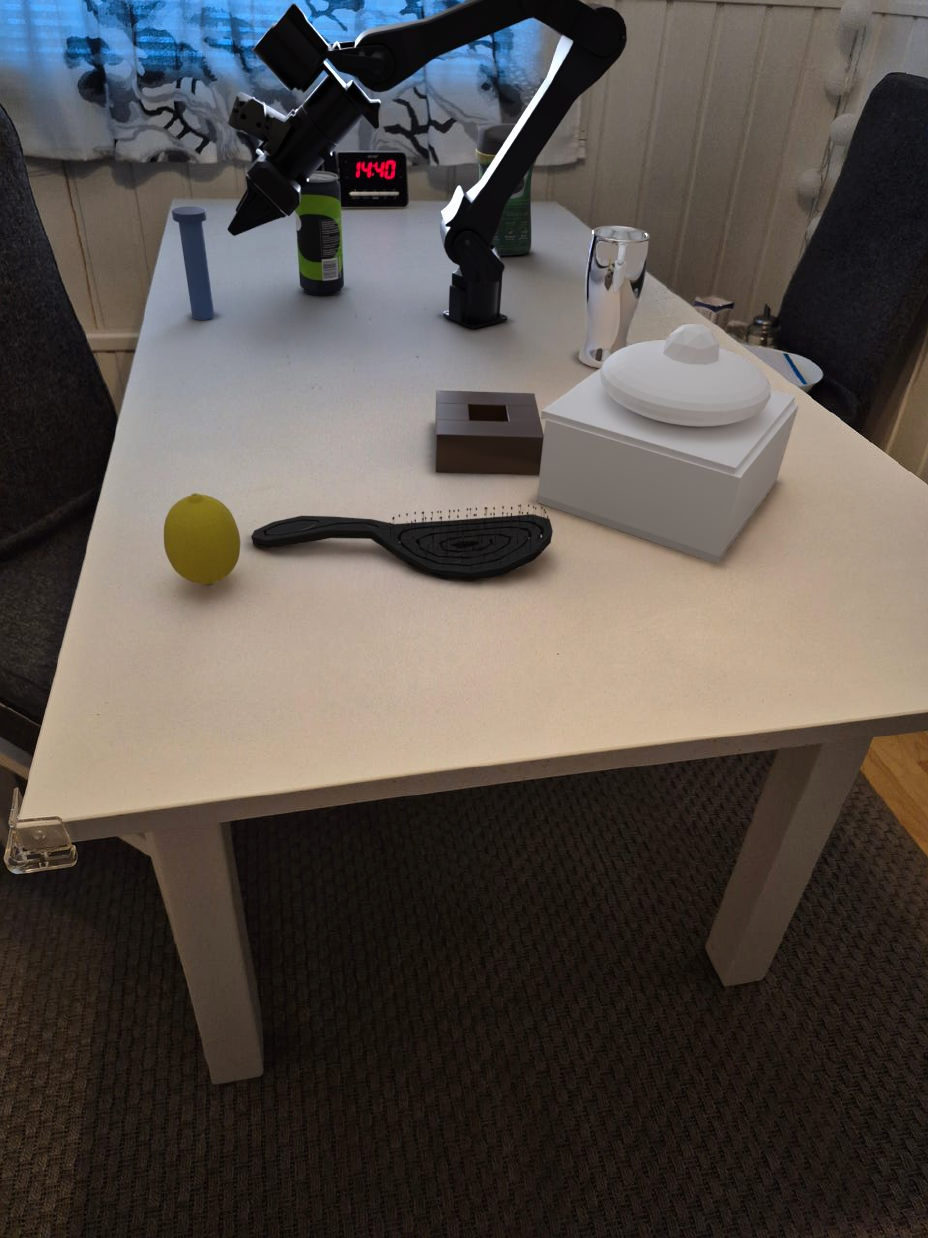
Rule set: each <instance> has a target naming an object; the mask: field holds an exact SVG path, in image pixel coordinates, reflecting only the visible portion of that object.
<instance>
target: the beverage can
mask: <svg viewBox="0 0 928 1238" xmlns="http://www.w3.org/2000/svg"><path fill="white" fill-rule="evenodd" d="M338 179H339V176H338V174H337V173H334V172H331V171H325V170H316V171H315V172H314V173H313V174H312V175H311V176H310V177H309V181H308V183H307V184H306V185H305V186H304V187H303V188H302V187H301V186H300V188H301V201H300V205H299V206H298V207H297V208H296V209H295V211H294V217H295V232H296V233H295V234H296V247H297V260H298V274H299V275H298V277H299V286H300V287H301V288H302V289H303V291H304V292H305V293H306V294H308V295H312V296H316V297H317V296H318V297H327V296H333V295H337V294H339V293H340V292H341V290H342V289H343V288H344V286H345V276H344V275H345V274H344V271H345V270H344V249H343V248H344V247H343V223H342V220H343V219H342V199H341V195H342V194H341V184H340V182H339V181H338Z"/></svg>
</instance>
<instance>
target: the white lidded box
mask: <svg viewBox="0 0 928 1238" xmlns="http://www.w3.org/2000/svg"><path fill="white" fill-rule="evenodd" d="M771 386H772V385H771V383H770V381H769V379H768V378H767V376H766V374H765V373H764V372H763V370H762V369H761V368H759V367H758V366H757V365H756V364H754V363H753V362H752V361H750V360H749V359H747V358H745V357H744V356H742V355H740V354H738V353H736V352H734V351H731V350H728V349H725V348H722V347H721V343H720V341H719V340H718V338H717V336H716V335H715V334H714V332H713V330H711V328H708V327H707V326H705V325H703V324H702V323H683V324H681V325H680V326H679V327H678V328H676V329H675V330H673V331H672V332H671V333H669V334H668V336H667V339H659V340H658V339H656V340H647V341H641V342H636V343H634V344H630V345H627V347H624V348H622V349H620V350H618V351H616V352H614V353H613V354H612V355H610V356H609V357H608V358H607V359H606V360H605V361H604V363H603V365H602V367H601V368H598V369H597V370H596V371H594V372H592V374H590V375H589V376H587V377H586V378H584V380H582V381H581V382H579V383H578V384H576V385H575V386H574V387H572V388H571V389H570V390H568V391H567V392H565V393H564V394H563V395H561V396H560V397H558V398H557V399H555V400H554V401H552V402H551V403H550V404H549V405H547V406H546V407H544V408H543V409H542V410H541V414H540V420H545V422H544V428H543V429H544V430H543V434H544V439H543V448H542V457H541V466H540V475H539V476H538V478H539V479H538V485H537V493H536V494H537V495H536V503H539V504H541V505H544V506H546V507H550V508H553V509H556V510H559V511H561V512H564V513H567V514H571V515H574V516H577V517H579V518H582V519H586V520H588V521H591V522H594V523H597V524H600V525H603V526H606V527H609V528H611V529H613V530H618V531H619V532H623V533H626V534H628V535H632V536H635V537H637V538H640V539H643V540H646V541H649V542H652V543H655V544H658V545H661V546H664V547H667V548H670V549H672V550H676V551H678V552H681V553H683V554H687V555H689V556H693V557H696V558H699V559H702V560H705V561H708V562H710V563H713V564H718V563H719V562H720V560H721V559H722V558H723V556H724V555H725V553H726V552H727V551H728V550H729V548H730V547H731V545H733V543H734V541H735V540H736V539H737V537H738V536H739V534H740V533H741V532H742V531H743V530H744V527H745V526H746V525H747V523H748V522H749V521H750V519H751V518H752V516H753V515H754V514H755V512H756V511H757V510H758V509H759V507H760V505H761V504H762V503H763V502H764V500H765V498H766V497H767V496H768V495H769V493H770V491H771V490H772V489H773V487H774V486H775V485H776V483H777V480H778V477H779V473H780V470H781V467H782V463H783V460H784V456H785V453H786V450H787V446H788V444H789V441H790V440H789V439H790V436H791V433H792V430H793V426H794V423H795V419H796V416H797V413H798V410H799V406H800V404H798V403H794V402H795V399H796V395H793V394H790V393H786V392H781V391H778V390H774V389H772V388H771Z"/></svg>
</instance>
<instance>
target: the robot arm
mask: <svg viewBox="0 0 928 1238" xmlns="http://www.w3.org/2000/svg"><path fill="white" fill-rule="evenodd" d="M529 19H530V20H531V19H533V20H535V21H537V22H539V23H540V24H541V25H543V26H545V27H546V28H548V29H550V30H551V31H553V32H555V33H556V34H558V35H559V36H561V37H560V39H559V42H558V44H557V46H556V49H555V52H554V55H553V58H552V62H551V64H550V68H549V69H548V72H547V75H546V77H545V78H544V81H543V82H542V84H541V85H540V87H539V88H538V90H537V91H536V93H535V94H534V96H533V98H532V99H531V100H530V102H529V104H528V105H527V107H526V108H525V110H524V112H523V113H522V115H521V116H520V118H519V119H518V121H517V123H515V124H516V126H515V127H514V129H513V130H512V132H511V133H510V135H509V137H508V138H507V140H506V141H505V143H504V144H503V146H502V147H501V149H500V151H499V152H498V154H497V155H496V157H495V158H494V160H493V162H492V163H491V165H490V166H489V168H488V169H487V171H486V172H485V174H484V176H483V177H482V179H481V180H480V181H479V180H478V182H477V183H475V185H474V186H472V187H471V188H470V189H469V190H468V191H466V190H465V189H464V188H463V187H462V186H461V185H458V186H457V187H456V189H455V191H454V193H453V196H452V198H451V200H450V202H449V203H448V205H447V206H446V207H445V208H443V209H442V210H441V211H440V214H441V217H442V219H441V222H440V225H439V234H440V235H439V236H440V239H441V243H442V246H443V249H444V252H445V254H446V256H447V258H448V259H449V260H450V261H451V262H452V263H453V264H454V265H457V266H458V268H456V270H455V271H452V272H451V284H450V285H449V291H448V293H449V294H448V310H444V311H443V313H442V316H443V317H444V318H447V319H449V320H451V321H453V322H456V323H457V324H460V325H462V326H464V327H466V328H469V329H471V330H472V329H473V330H475V329H480V328H483V327H487V326H491V325H496V324H500V323H503V322H507V321H508V319H509V318H508V316H507V315H505V314H503V313H501V304H502V303H501V302H502V292H503V291H502V290H503V275H504V271H505V269H506V266H505V263H504V262H503V260H502V257H501V255H499V253H498V251H497V249H496V247H495V246H494V245H493V243H492V241H493V239H494V237H495V235H496V233H497V230H498V227H499V224H500V221H501V218H502V215H503V212H504V209H505V206H506V204H507V202H508V201H509V199H510V198H511V196H512V195H513V193H514V192H515V190H516V189H517V187H518V186H519V184H520V183H521V181H522V180H523V178H524V177H525V175H526V174H527V172H528V171H529V169H530V168H531V166H532V165H533V163H534V162H535V160H536V159H538V158H539V156H540V154H541V153H542V151H543V150H544V149H545V146H546V145H547V143H548V142H549V141H550V139H551V138H552V136H553V135H554V133H555V132H556V130H557V129H558V127H559V126H560V124H561V122H562V121H563V119H564V118H565V117H566V115H567V113H568V112H569V111H570V109H571V108H572V106H573V104H574V103H575V102H576V100H577V99H578V98H579V97H580V96H582V94H584V93H585V92H586V91H587V90H588V89H590V88H591V87H592V86H593V85H595V84H596V83H597V82H599V80H600V79H601V78H602V77H604V75H605V74H606V72H608V71H609V69H610V68H611V67H612V66H613V65H615V63H616V62H617V61H618V59H619V58H621V56H622V54H623V53H624V50H625V48H626V46H627V42H628V37H627V36H628V35H627V31H628V30H627V25H626V22H625V19H624V17H623V16H622V15H621V13H620V12H619V11H618V10H616V9H614V8H613V7H611V6H607V5H603V4H600V3H594V2H590V3H584V2H583V1H581V0H466V1H463V2H460V3H459V4H455V5H454V6H451V7H449V8H447V9H444V10H442V11H439V12H436V13H435V14H432V15H430V16H427V17H425V18H421V19H416V20H409V21H401V22H396V23H391V24H390V23H389V24H385V25H380V26H375V27H371V28H367V29H365V30H364V31H363V32H361V33H360V34H359V35H358V36H357V38H356V40H349V41H341V42H339V41H338V40H336V41H335V42H333V43H328V42H327V41H326V40H325V39H324V37H323V36H322V35H321V34H320V33H319V32H318V31H317V30H316V28H315V27H314V26H313V25H312V23H311V22H310V21H309V20H308V19H307V16H306V14H305V13H304V12H303V10H302V8H301V7H300V6H298V4H297V3H296V2H293V3H292V4H291V5H290V6H289V7H288V9H287V10H286V11H285V12H284V13H283V14H282V16H281V17H280V18H279V19H278V20H277V22H273V23H272V24H271V26H270V27H269V28H268V30H266V32H265V33H264V34H263V36H261V38H260V39H259V40H258V42H257V43H256V44H255V46H254V47H253V48H252V49H251V51H252V53H254V55H256V57H257V58H258V59H259V60H260V61H261V62H262V63H263V64H264V65H265V67H266V68H267V69H268V70H269V71H270V72H271V74H272V75H274V76H275V77H276V79H277V80H278V81H279V82H280V84H282V85H283V87H285V89H286V91H288V92H289V93H291V92H292V91H294V89H296V90H297V92H300V91H301V93H302V94H305V92H307V91H308V90H309V88H310V87H311V86H312V85H313V84H314V83H315V82H316V80H317V79H318V78H319V77H320V76H321V74H322V73H323V71H324V72H325V74H326V76H325V77H324V78H323V80H322V81H321V82H320V83H319V85H317V87H316V88H315V89H314V90H313V92H312V93H310V94H309V96H308V97H307V98H306V100H304V102H303V103H302V104H301V105H300V106H299V107H298V108H296V109H294V108H292V110H291V111H290V112H289V113H288V114H287V115H284V114H282V113H281V112H280V111H277V110H276V109H274V108H272V107H270V106H269V105H267V104H266V103H265V102H264V101H263V102H262V101H260V100H259V99H256V97H255V96H251V95H249V94H248V93H247V94H246V93H244V92H242V91H238V93H237V94H236V96H235V99H234V101H233V102H234V103H233V106H232V109H231V111H230V115H229V118H228V120H227V125H228V126H230V127H231V128H233V129H234V130H236V131H238V132H239V131H242V132H243V133H245V134H247V135H250V136H251V137H254V138H255V139H257V140H259V141H261V142H260V143H259V144H258V147H257V148H256V150H255V153H254V158H255V160H254V161H253V163H251V166H249V168H248V169H247V171H246V173H245V176H244V177H245V178H244V179H245V182H246V183H245V184H246V189H245V191H244V193H243V195H242V197H241V198H240V200H239V202H238V204H237V206H236V208H235V214H234V216H233V217H232V219H231V221H230V223H229V224H228V227H227V232H228V233H229V234H230V235H232V236H233V237H236V236H238V235H241V234H243V233H245V232H248V231H250V230H253V229H256V228H258V227H261V226H263V225H265V224H268V223H271V222H273V221H276V220H279V219H284V218H286V217H287V216H288V217H290V216H291V215H292V214H293V213H295V209H296V208H297V207H298V206H299V205H300V201H301V188H300V186H301V187H302V188H303V187H304V186H305V185H306V184H307V183H308V181H309V177H310V176H311V175H312V174H313V173H314V172H315V171H317V169H319V167H320V166H321V165H322V164H323V163H324V162H325V163H327V162H328V161H329V160H330V159H331V157H332V156H333V152H334V151H335V149H336V148H337V147H338V146H339V145H340V144H341V143H342V142H343V141H344V140H345V138H346V137H347V136H348V135H349V134H350V133H351V132H352V130H354V128H355V127H356V126H357V125H358V124H359V123H360V122H361V121H362V120H363V118H364V119H366V120H367V122H368V123H369V124H370V125H371V126H372V127H373V129H376V130H378V129H380V126H381V125H380V112H381V111H380V110H381V106H382V104H381V100H380V99H378V98H377V99H371V98H369V97H368V95H367V94H366V92H364V91H363V89H362V88H360V86H359V85H358V84H357V82H356V81H355V80H354V79H351V80H350V81H348V83H346V82H345V81H344V80H343V78H341V77H340V76H339V75H338V74H337V73H336V72H335V71H334V69H335V70H336V71H337V72H339V73H343V74H346V75H349V76H353V77H356V78H357V80H358V81H359V82H360V84H362V86H364V88H367V90H370V91H372V92H374V93H384V92H385V93H386V92H388V91H390V90H393V89H394V88H395V87H397V86H399V85H400V84H402V83H403V82H405V81H406V80H407V79H409V78H410V77H412V76H413V75H415V74H416V73H417V72H419V70H421V69H422V68H424V67H425V66H426V65H428V64H429V63H430V62H432V61H433V60H435V59H436V58H439V57H440V56H442V55H445V54H447V53H449V52H452V51H454V50H455V51H456V50H457V49H459V48H462V47H464V46H467V45H468V44H472V43H473V42H476V41H478V40H481V39H483V38H487V37H488V36H491V35H493V34H495V33H497V32H500V31H503V30H505V29H507V28H510V27H512V26H515V25H517V24H519V23H522V22H525V21H526V20H529ZM326 60H328V62H329V63H330V64H331V65H332V66H333V67H334V69H333V68H332V67H331V65H330V64H329V63H328V62H327V61H326ZM264 150H265V151H264ZM263 151H264V152H263ZM536 161H537V160H536Z"/></svg>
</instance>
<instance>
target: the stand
mask: <svg viewBox="0 0 928 1238" xmlns="http://www.w3.org/2000/svg"><path fill="white" fill-rule="evenodd" d="M537 403H538V402H537V399H536V394H535V393H534V392H507V391H506V392H505V391H503V392H502V391H500V392H499V391H477V390H476V391H471V390H441V389H437V390H435V416H434V417H435V421H434V439H435V440H434V443H435V444H434V446H435V447H434V448H435V449H434V451H435V452H434V454H435V455H434V456H435V462H434V463H435V464H434V465H435V472H436V473H464V474H499V475H500V474H501V475H535V476H536V475H537V476H538V475H540V466H541V457H542V448H543V439H544V430H543V429H544V428H543V426H542V422H541V415H540V413H539V408H538V404H537Z"/></svg>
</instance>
